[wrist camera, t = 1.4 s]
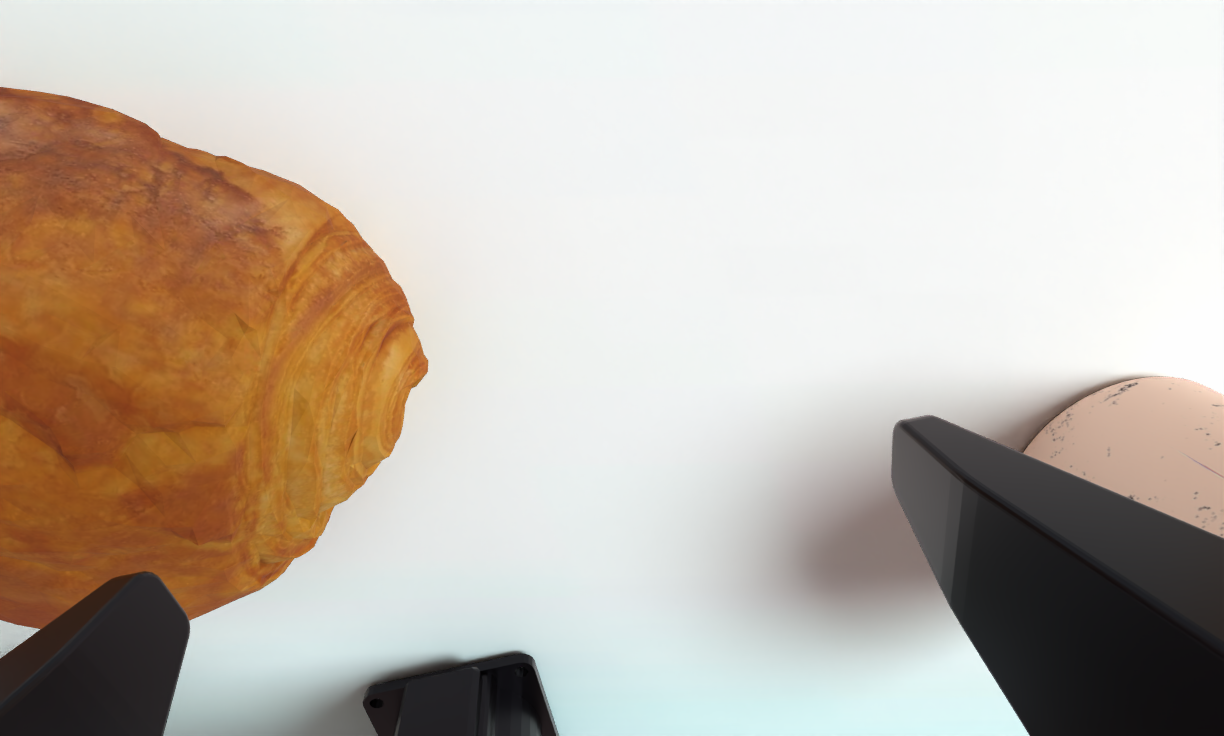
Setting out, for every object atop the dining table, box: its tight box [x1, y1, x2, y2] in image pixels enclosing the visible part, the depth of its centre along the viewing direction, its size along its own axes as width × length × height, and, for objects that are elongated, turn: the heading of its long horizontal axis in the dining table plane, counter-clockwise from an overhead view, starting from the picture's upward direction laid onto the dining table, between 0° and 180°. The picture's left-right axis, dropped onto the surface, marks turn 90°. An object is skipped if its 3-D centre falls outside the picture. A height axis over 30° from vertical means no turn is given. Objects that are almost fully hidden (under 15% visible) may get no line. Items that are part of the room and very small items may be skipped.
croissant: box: [0, 87, 428, 629], centre depth 16 cm, size 14×16×8 cm
